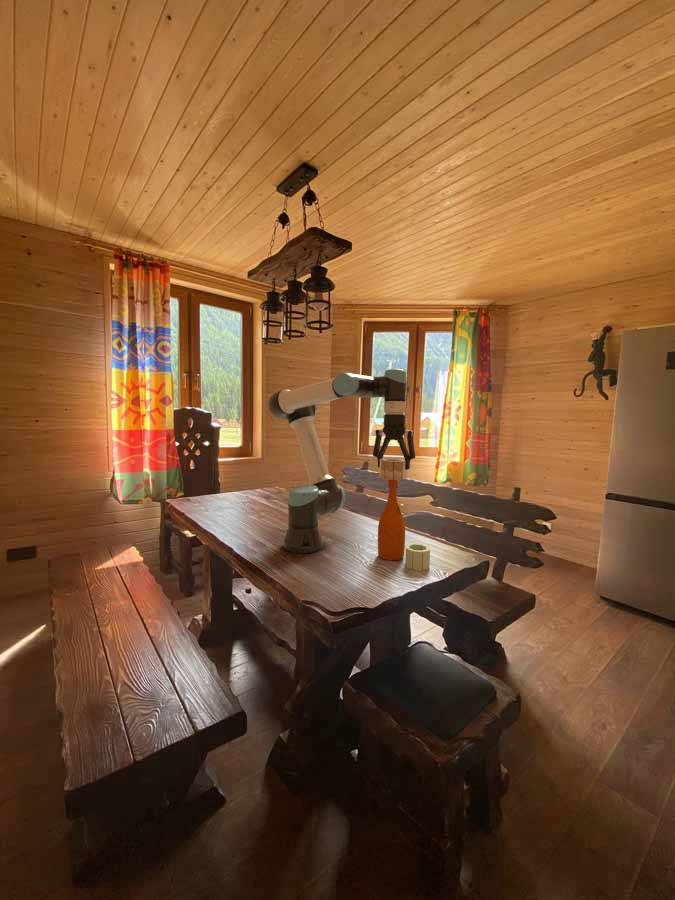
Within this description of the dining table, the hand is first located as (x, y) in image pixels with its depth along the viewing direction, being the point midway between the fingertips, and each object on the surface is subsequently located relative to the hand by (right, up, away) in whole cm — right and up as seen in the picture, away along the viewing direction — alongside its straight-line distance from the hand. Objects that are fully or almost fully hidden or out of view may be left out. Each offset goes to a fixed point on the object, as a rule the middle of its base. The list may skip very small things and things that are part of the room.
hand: (393, 477), depth 134 cm
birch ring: (0, 0, 0) cm, 0 cm away
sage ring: (+7, -30, -6) cm, 31 cm away
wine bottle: (0, -29, +3) cm, 30 cm away
